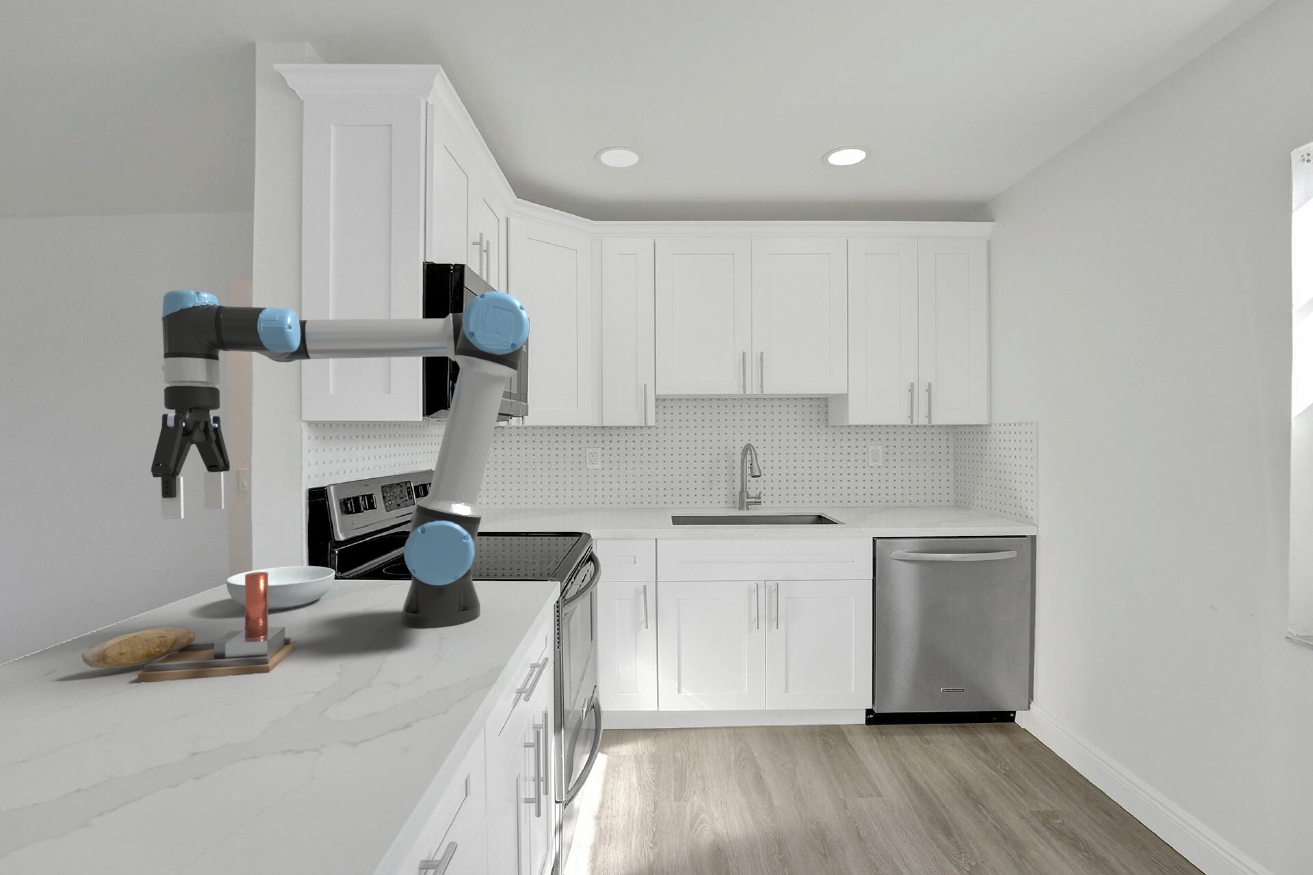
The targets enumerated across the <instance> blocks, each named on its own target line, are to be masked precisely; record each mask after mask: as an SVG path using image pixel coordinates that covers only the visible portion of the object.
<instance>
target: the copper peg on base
mask: <svg viewBox="0 0 1313 875" xmlns="http://www.w3.org/2000/svg"><path fill="white" fill-rule="evenodd" d="M268 621H269V610H268V573H267V572H255V573H249V574H246V575H245V606H244V630H231V631H228V632H227V633H226V634H224V635H223V636H222V637H220V638H218V639H217V640H216V641H213V642H214V660H218V659H234V658H250V657H267V656H270V657H271V656H272V655H273V654H274V653H276V652H277V651H278V650H279V649H280V648H281V647H282V646H283V645H285V638H286V626H273V627H269V622H268Z"/></svg>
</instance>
